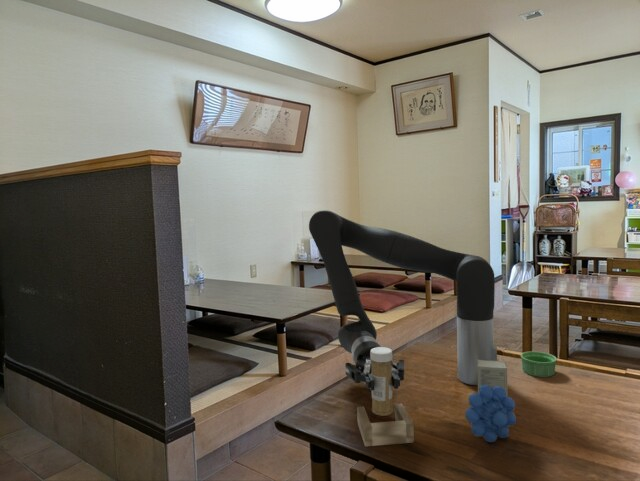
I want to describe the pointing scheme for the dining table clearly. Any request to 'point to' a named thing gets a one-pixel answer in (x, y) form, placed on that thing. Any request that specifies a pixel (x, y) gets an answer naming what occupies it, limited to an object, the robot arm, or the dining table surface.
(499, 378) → the skincare box
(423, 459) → the dining table surface
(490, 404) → the blue bumpy cluster
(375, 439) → the pocket
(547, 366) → the ramekin
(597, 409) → the dining table surface
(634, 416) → the dining table surface
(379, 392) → the spice jar
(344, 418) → the dining table surface
